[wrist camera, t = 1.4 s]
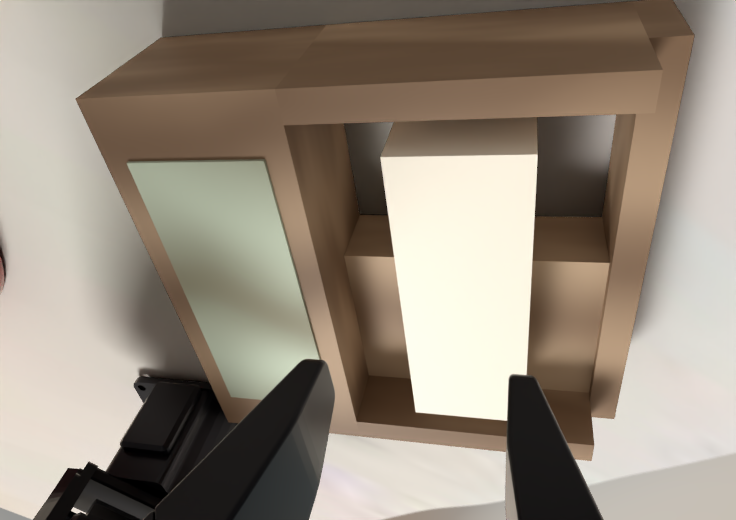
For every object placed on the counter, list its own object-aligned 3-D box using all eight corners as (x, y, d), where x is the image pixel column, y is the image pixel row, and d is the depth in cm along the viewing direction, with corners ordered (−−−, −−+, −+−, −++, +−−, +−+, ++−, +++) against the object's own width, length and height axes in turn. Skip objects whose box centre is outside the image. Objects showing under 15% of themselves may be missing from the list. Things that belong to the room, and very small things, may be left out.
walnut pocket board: (606, 361, 25) (620, 466, 21) (266, 338, 29) (227, 424, 25) (671, -2, 16) (716, 69, 12) (160, 37, 20) (73, 100, 16)
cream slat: (524, 371, 23) (524, 422, 21) (424, 364, 24) (415, 412, 22) (537, 112, 16) (537, 154, 14) (396, 116, 17) (380, 157, 15)
